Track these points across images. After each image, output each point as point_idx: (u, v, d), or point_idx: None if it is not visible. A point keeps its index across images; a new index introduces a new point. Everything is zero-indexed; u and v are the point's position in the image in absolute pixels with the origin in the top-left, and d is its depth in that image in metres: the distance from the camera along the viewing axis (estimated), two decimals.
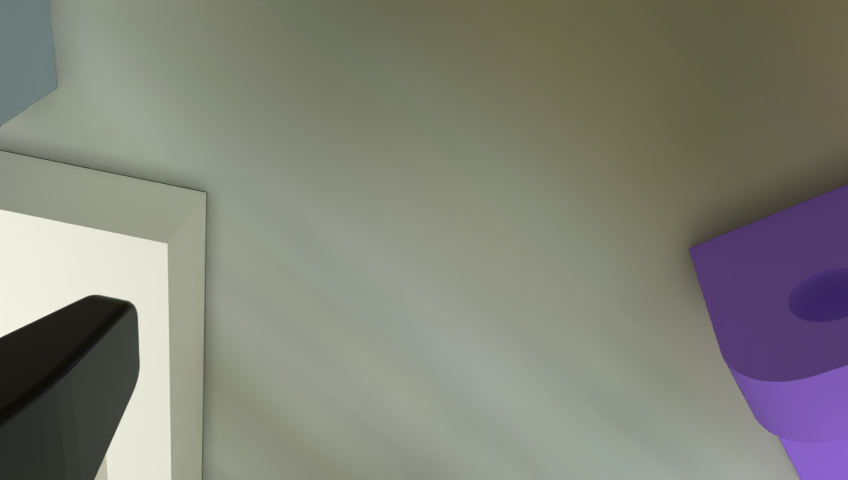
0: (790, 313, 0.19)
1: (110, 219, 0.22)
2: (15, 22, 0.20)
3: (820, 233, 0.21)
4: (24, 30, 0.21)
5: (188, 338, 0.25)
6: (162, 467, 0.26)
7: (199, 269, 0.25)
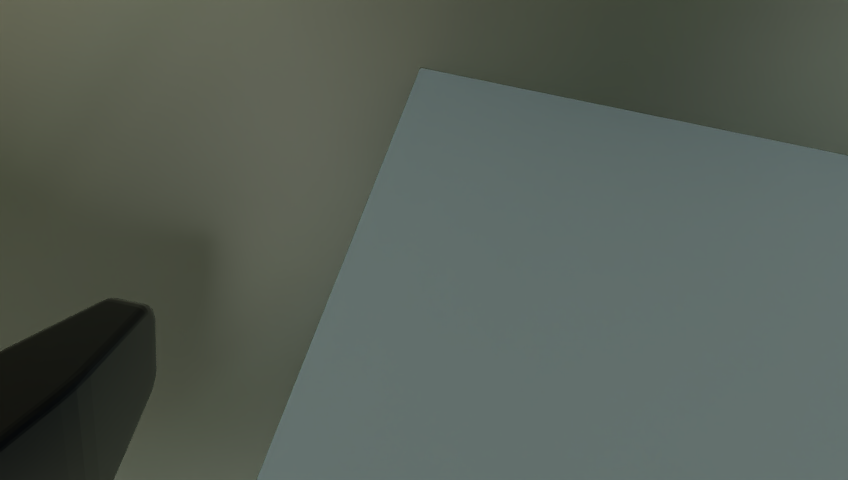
0: None
1: None
2: (703, 201, 0.06)
3: None
4: (733, 189, 0.07)
5: None
6: None
7: None
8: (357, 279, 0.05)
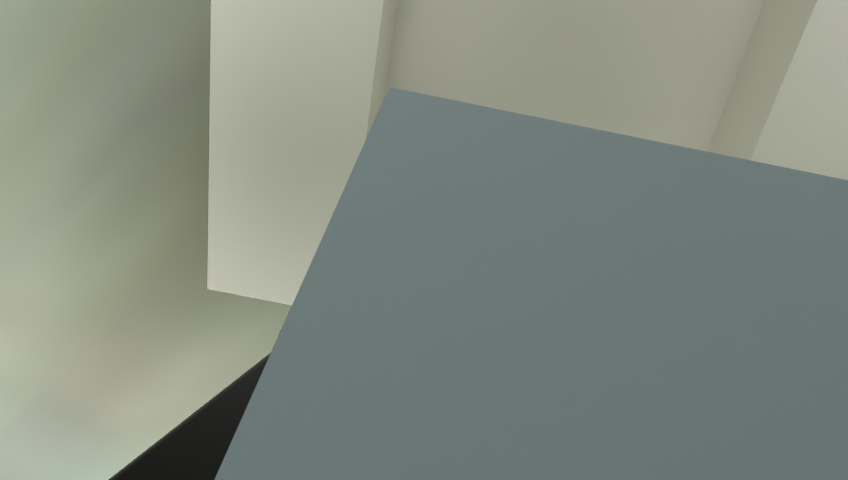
0: None
1: None
2: (676, 229, 0.06)
3: None
4: (708, 215, 0.06)
5: None
6: None
7: None
8: (308, 323, 0.04)
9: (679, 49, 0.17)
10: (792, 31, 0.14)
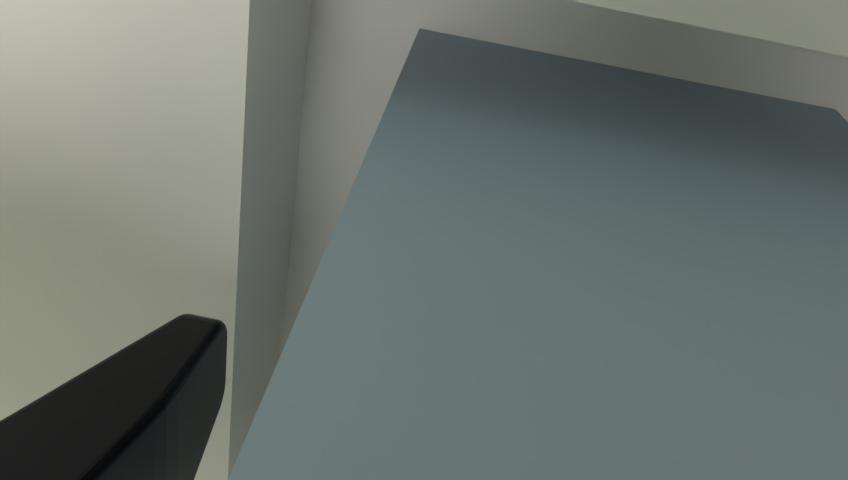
0: None
1: None
2: (652, 127, 0.08)
3: None
4: (678, 119, 0.08)
5: None
6: None
7: None
8: (376, 171, 0.06)
9: None
10: None
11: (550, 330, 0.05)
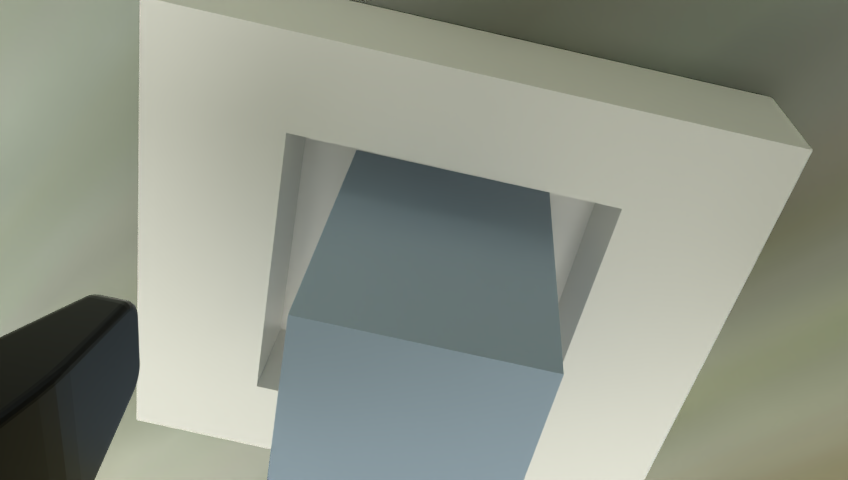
0: None
1: None
2: (451, 204, 0.18)
3: None
4: (465, 199, 0.19)
5: (378, 26, 0.17)
6: (578, 111, 0.16)
7: None
8: (331, 225, 0.17)
9: None
10: (596, 258, 0.18)
11: (383, 280, 0.15)
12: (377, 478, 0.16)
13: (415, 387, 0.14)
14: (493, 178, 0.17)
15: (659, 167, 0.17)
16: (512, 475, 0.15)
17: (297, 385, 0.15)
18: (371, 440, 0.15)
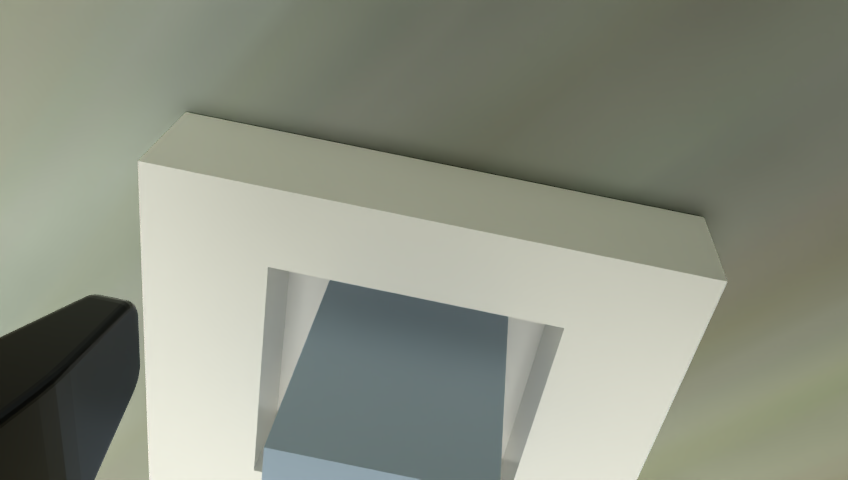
0: None
1: None
2: (417, 318, 0.21)
3: None
4: (431, 312, 0.21)
5: (347, 170, 0.20)
6: (519, 250, 0.18)
7: (275, 138, 0.20)
8: (308, 349, 0.19)
9: None
10: (547, 364, 0.21)
11: (349, 406, 0.18)
12: None
13: None
14: (449, 303, 0.19)
15: (594, 295, 0.19)
16: None
17: None
18: None
